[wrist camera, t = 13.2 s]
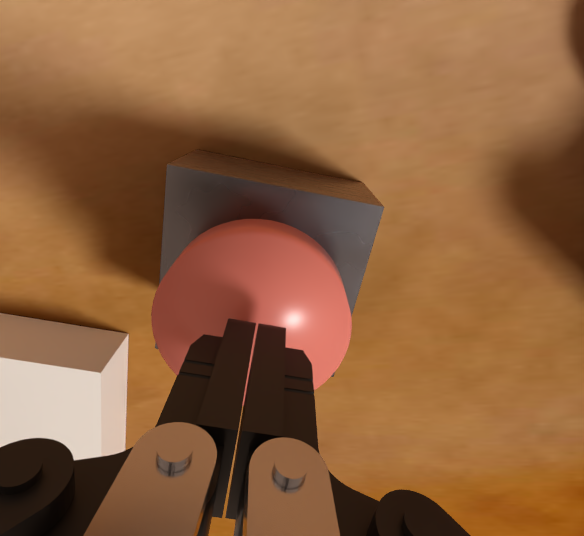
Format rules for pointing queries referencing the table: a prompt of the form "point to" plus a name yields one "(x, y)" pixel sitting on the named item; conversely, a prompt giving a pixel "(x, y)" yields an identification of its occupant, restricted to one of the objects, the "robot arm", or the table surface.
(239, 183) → the button housing
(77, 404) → the white square-holed slab
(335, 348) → the button
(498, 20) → the table surface
